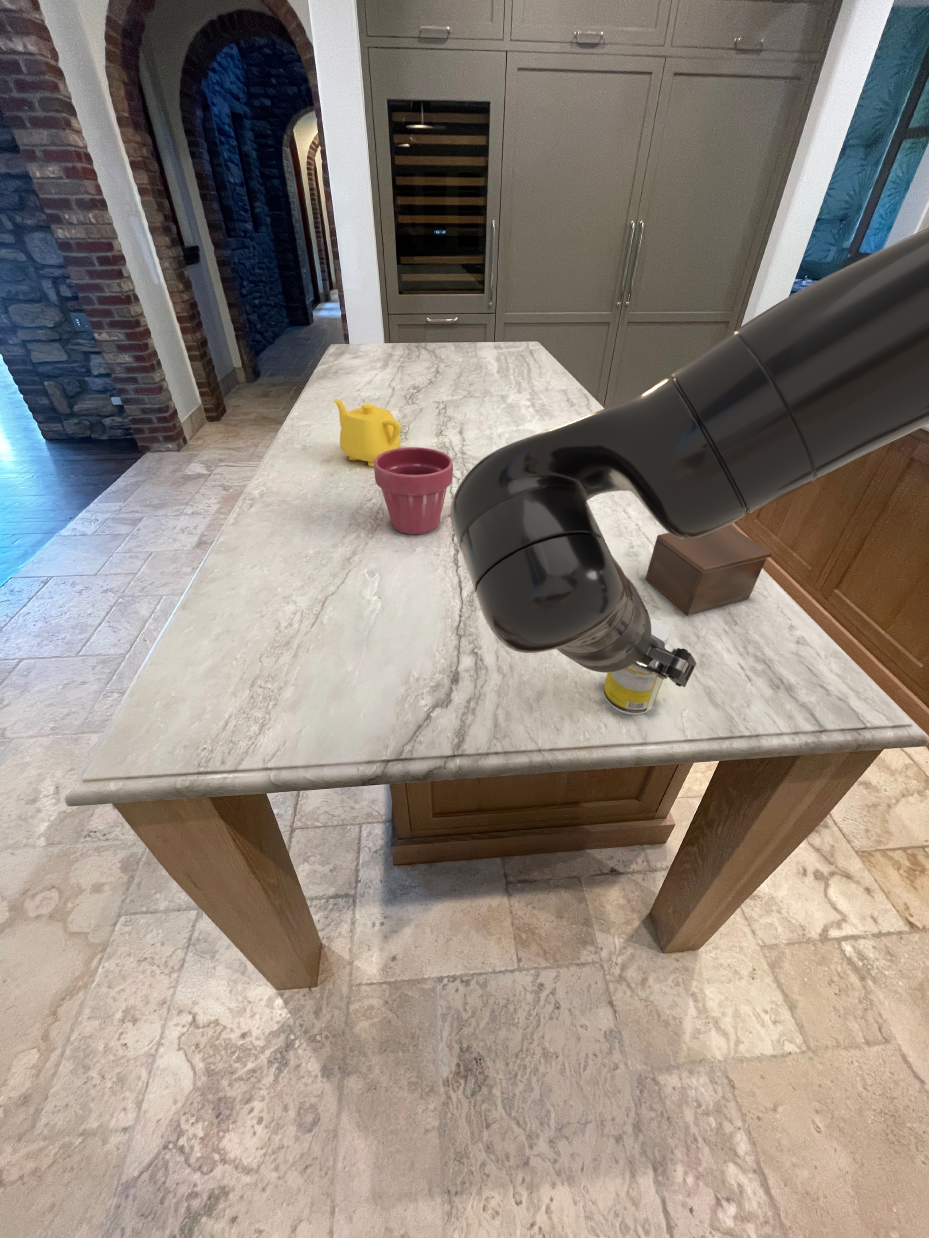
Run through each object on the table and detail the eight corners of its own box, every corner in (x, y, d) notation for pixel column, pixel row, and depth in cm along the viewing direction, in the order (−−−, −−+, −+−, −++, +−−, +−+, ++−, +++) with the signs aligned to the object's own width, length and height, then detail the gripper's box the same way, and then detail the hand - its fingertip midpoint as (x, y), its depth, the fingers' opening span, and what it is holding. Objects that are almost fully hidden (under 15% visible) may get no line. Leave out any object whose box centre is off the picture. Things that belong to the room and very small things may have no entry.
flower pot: (442, 503, 111) (442, 443, 103) (460, 536, 101) (461, 471, 93) (374, 511, 108) (368, 449, 100) (385, 545, 98) (379, 479, 90)
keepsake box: (703, 565, 95) (717, 526, 90) (748, 599, 87) (766, 558, 82) (644, 579, 91) (656, 539, 86) (687, 615, 83) (702, 573, 78)
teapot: (357, 440, 139) (352, 390, 131) (419, 457, 131) (417, 405, 123) (320, 455, 130) (312, 403, 123) (383, 475, 122) (379, 420, 114)
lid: (720, 525, 90) (722, 521, 89) (770, 557, 82) (772, 552, 82) (656, 539, 86) (657, 534, 85) (702, 573, 78) (704, 569, 78)
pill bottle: (637, 676, 72) (658, 608, 65) (663, 711, 67) (689, 641, 60) (593, 685, 71) (610, 616, 64) (617, 721, 66) (638, 651, 59)
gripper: (707, 610, 39) (709, 647, 53) (539, 546, 46) (581, 594, 60) (661, 703, 39) (676, 715, 53) (500, 625, 46) (552, 654, 60)
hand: (626, 651), depth 57 cm, fingers open, 8 cm apart
